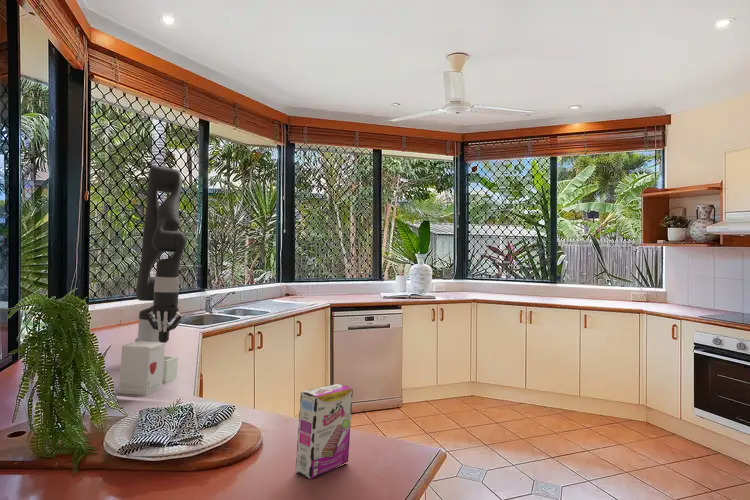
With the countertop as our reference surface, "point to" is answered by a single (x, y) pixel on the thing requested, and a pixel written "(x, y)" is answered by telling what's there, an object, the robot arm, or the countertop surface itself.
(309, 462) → the candy bar box
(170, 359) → the stoneware open box
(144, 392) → the supplement box
